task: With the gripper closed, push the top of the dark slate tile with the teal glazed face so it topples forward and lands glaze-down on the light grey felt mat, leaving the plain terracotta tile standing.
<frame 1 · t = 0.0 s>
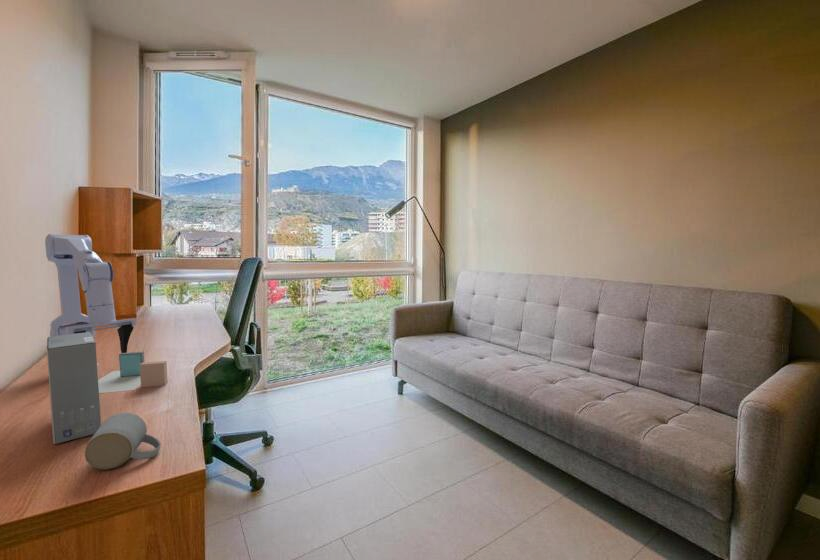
hand: (107, 356, 100), 11 cm above the table, tool pointing down, fingers open, 7 cm apart
plain tile: (154, 386, 106), on the table
hard drive box: (77, 427, 82), on the table
ceramic mug: (126, 458, 70), on the table
glazed tile: (132, 375, 114), resting on felt mat
felt mat: (122, 381, 110), on the table
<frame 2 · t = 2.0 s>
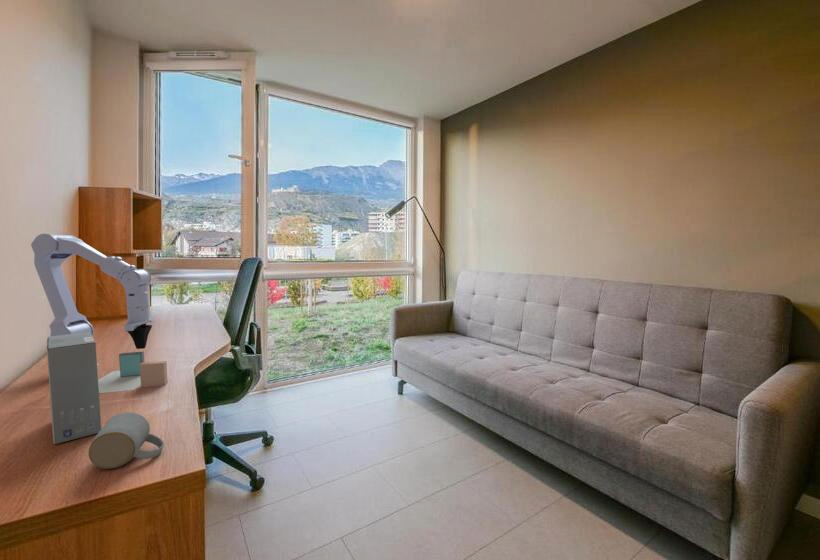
hand: (141, 348, 120), 7 cm above the table, tool pointing down, fingers closed
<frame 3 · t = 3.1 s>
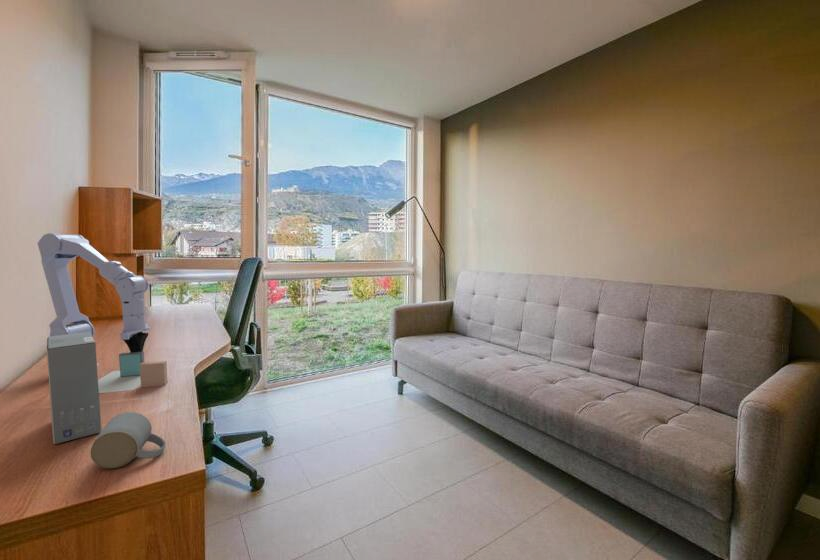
hand: (137, 356, 117), 5 cm above the table, tool pointing down, fingers closed
nothing on the table moved.
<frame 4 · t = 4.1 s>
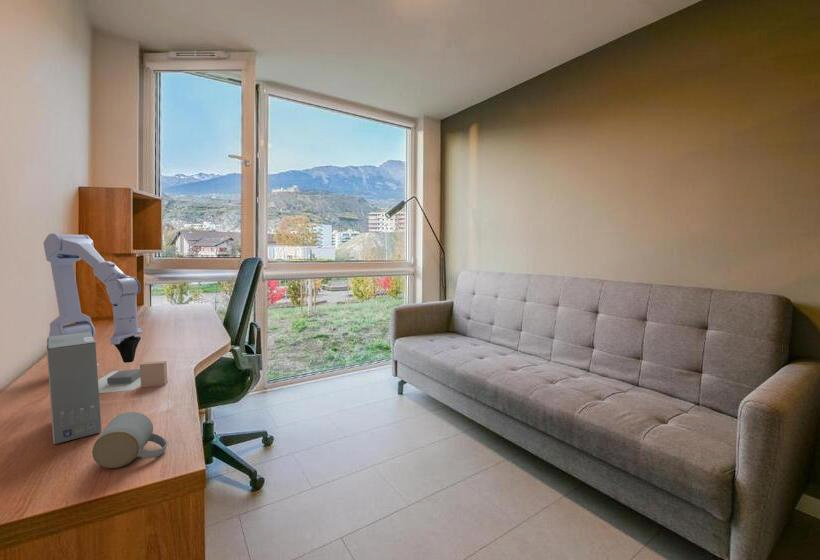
hand: (128, 361, 112), 5 cm above the table, tool pointing down, fingers closed
glazed tile: (131, 372, 113), point 1 cm above the table, tilted 90°, touching felt mat
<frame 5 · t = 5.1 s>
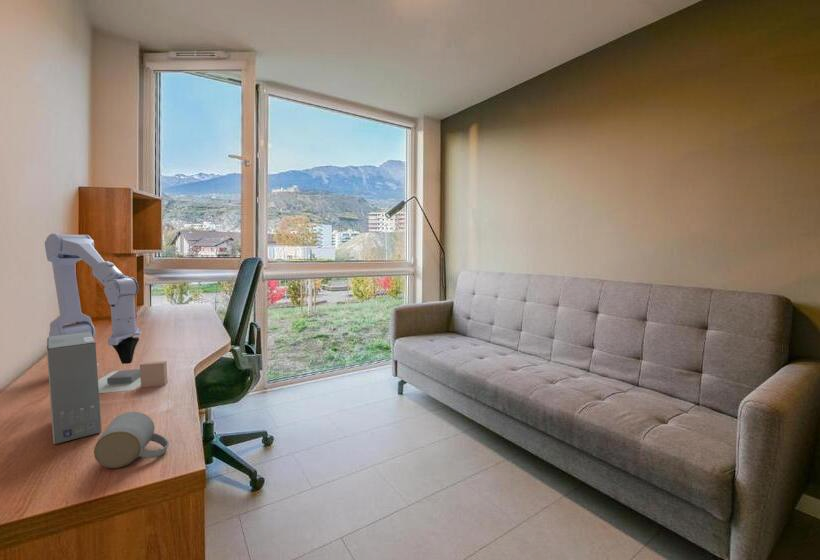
hand: (126, 363, 111), 5 cm above the table, tool pointing down, fingers closed
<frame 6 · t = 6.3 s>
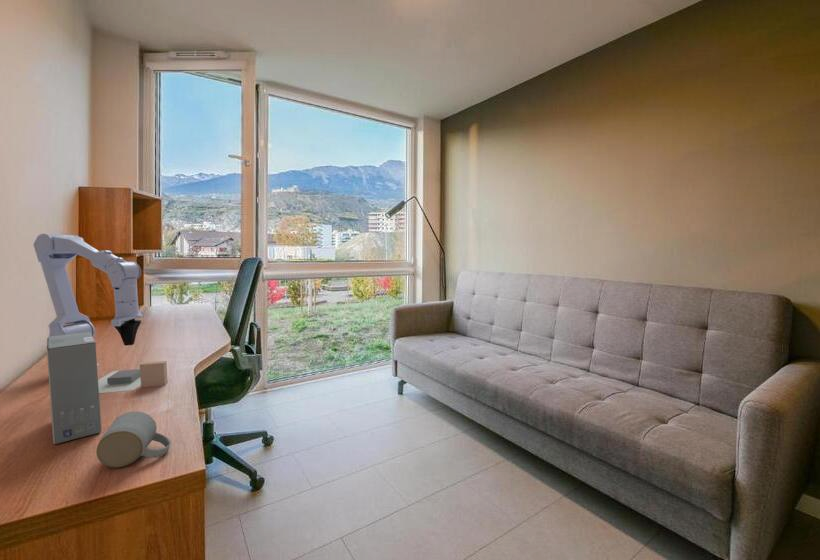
hand: (129, 344, 114), 10 cm above the table, tool pointing down, fingers closed
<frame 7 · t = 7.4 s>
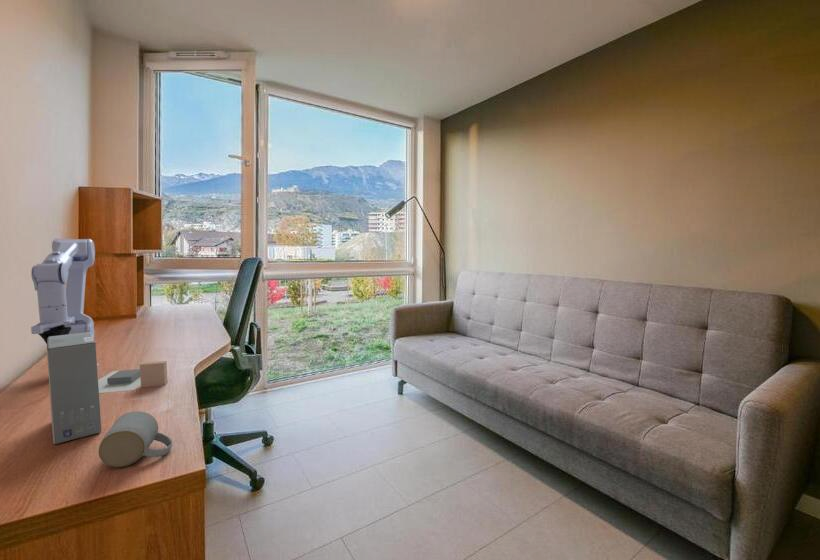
hand: (57, 353, 105), 10 cm above the table, tool pointing down, fingers closed
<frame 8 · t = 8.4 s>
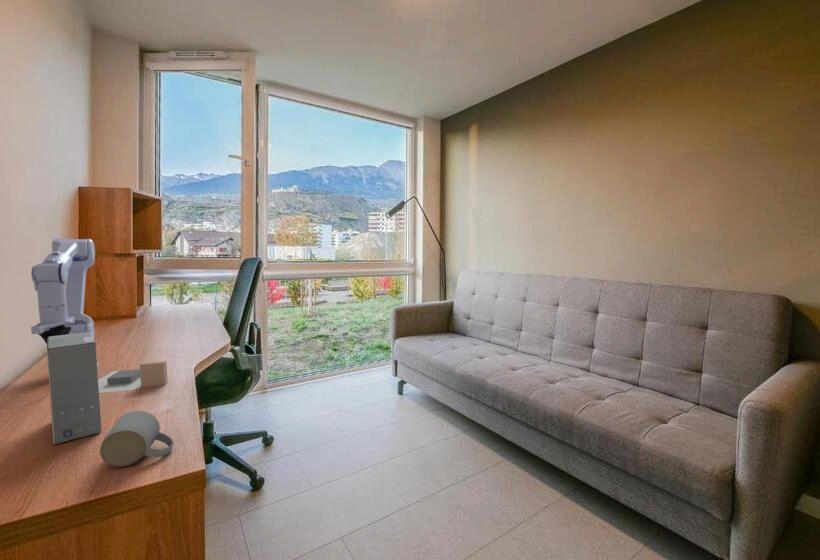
hand: (57, 353, 105), 10 cm above the table, tool pointing down, fingers closed
at the end: glazed tile tilted 90°; glazed tile inside the target area (5.1 cm from its centre), point 1.4 cm above the table; plain tile tilted 0° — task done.
